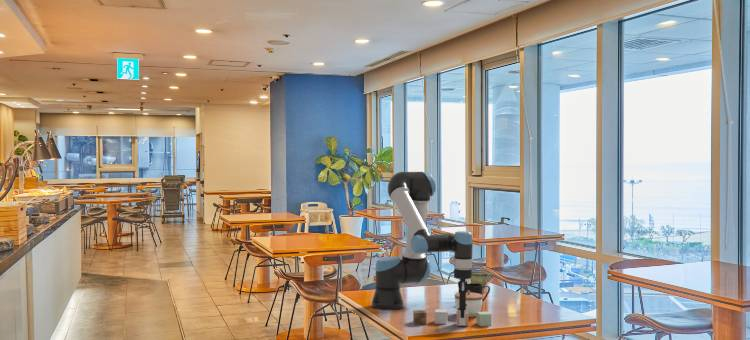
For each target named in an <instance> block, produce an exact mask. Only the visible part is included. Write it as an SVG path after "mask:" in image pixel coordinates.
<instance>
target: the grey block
mask: <svg viewBox="0 0 750 340" xmlns="http://www.w3.org/2000/svg"><path fill="white" fill-rule="evenodd" d="M448 313H449V312H448V309H439V308H438V309H437V308H436V309H435V310H434V324H441V325H447V324H448V321H449V320H448V319H449V318H448V315H449V314H448Z"/></svg>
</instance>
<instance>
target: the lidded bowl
mask: <svg viewBox="0 0 750 340" xmlns="http://www.w3.org/2000/svg"><path fill="white" fill-rule="evenodd" d="M459 294H460V293H459V292H456V293H455V294H454V304H455V308H456V311H459V310H458V308H459ZM483 298H484V296H483V294H482V295H481V294H478V293H471V292H470V291H469V290H468V291H467V293H466V304H467V306H466V312H468V313H469V318H470V317H471V318H473V317H476V312H481V310H482V307H483V302H482V299H483Z"/></svg>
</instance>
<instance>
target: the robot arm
mask: <svg viewBox="0 0 750 340" xmlns="http://www.w3.org/2000/svg"><path fill="white" fill-rule="evenodd" d="M436 189H437V184H436V180H435V179H434V176H433V175H432V174H431V173H430V172H426V171H399V172H397V173H395V174H393V176H392V177H391V178H390V179H389V180H388V183H387V193H388V197H389V199H390V200H391V201H392V203H395V206H396V207H397V209H398V212H399V214H400V215H401V218H402V219H403V222H404V223H405V225H406V227H407V228H406V241H405V251H404V252H403V253H402V256H401V257H399V256H398V255H397V256H395V255H394V256H384V257H381V258H379V259H377V260H376V262H375V269H374V271H375V292H374V293H373V297H372V300H371V308H373V309H376V310H385V311H386V310H387V311H389V310H390V311H393V310H400V309H403V308H404V300H403V296H402V293H401V289H400V288H401V285H403V284H404V285H405V284H418V283H424V282H426V280H427V279H429V277H430V273H431V263H430V261H429V259H428V258H427V255H426V253H444V252H445V253H448V252H450V253H453V255H454V257H453V268H454V269H453V277H454V278H455V279H459V281H457V287H458V293H460V294H459V308H458V310H459V325H464V326H463V327H466V326H465V322H466V306H467V304H466V293H467V286H468V284H469V283H468V281H466V280H470V278H472V271H473V269H472V268H473V264H474V260H473V245H474V244H473V243H474V240H473V234H472V232H470V231H465V230H463V231H460V230H459V231H455V232H454V234H453V233H448V232H447V233H446V232H444V233H441V234H431V232H430V231H429V229H428V227H427V225H426V218H427V217H426V216H427V204H428V203H429V202H430V201H431V197H433V196H434V195H435V193H436Z"/></svg>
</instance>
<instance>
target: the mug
mask: <svg viewBox="0 0 750 340" xmlns="http://www.w3.org/2000/svg"><path fill="white" fill-rule="evenodd" d="M484 287H485V288H488V289H487V293H486V294H485V296H483V298H482V303H484V301H485V300H486V298H487V297H488V295H489V293H490V292H491V291H490V290H491V287H490V286H489V285H485V286H483V285H481V284H471V283H468V286H467V291H468V290H469V291H470V292H471V293H478V294H481V295H483V292H484V291H483V288H484ZM485 288H484V289H485Z"/></svg>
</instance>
